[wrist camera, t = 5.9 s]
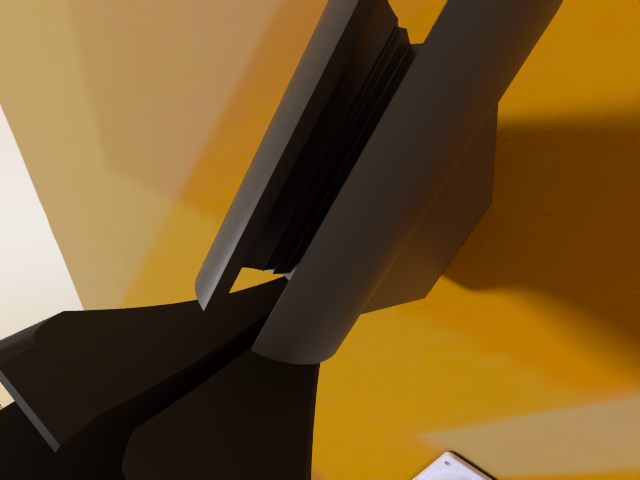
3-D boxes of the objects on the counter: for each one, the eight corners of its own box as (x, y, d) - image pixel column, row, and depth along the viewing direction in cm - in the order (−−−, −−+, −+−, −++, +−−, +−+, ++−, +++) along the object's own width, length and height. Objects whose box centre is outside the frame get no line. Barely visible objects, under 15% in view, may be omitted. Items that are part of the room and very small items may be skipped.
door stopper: (489, 204, 13) (1322, -34, 1) (423, 296, 14) (553, 610, 2) (344, 132, 15) (171, -200, 3) (297, 217, 16) (49, 182, 5)
